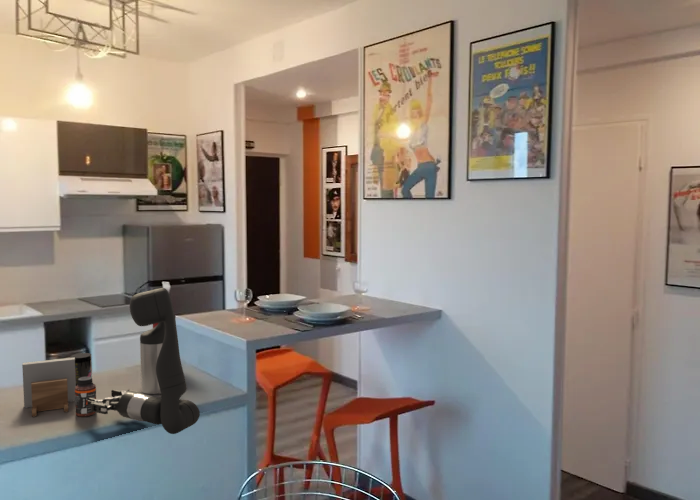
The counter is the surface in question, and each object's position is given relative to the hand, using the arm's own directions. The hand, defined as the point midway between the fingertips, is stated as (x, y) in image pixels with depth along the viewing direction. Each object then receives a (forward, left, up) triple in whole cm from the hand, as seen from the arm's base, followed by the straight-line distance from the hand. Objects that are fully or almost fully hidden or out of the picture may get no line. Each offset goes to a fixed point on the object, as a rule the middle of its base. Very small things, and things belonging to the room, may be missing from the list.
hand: (100, 397), depth 178 cm
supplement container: (+30, -24, -7) cm, 39 cm away
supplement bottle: (+7, -1, -7) cm, 10 cm away
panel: (+25, -5, -7) cm, 26 cm away
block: (+19, +1, -7) cm, 20 cm away
